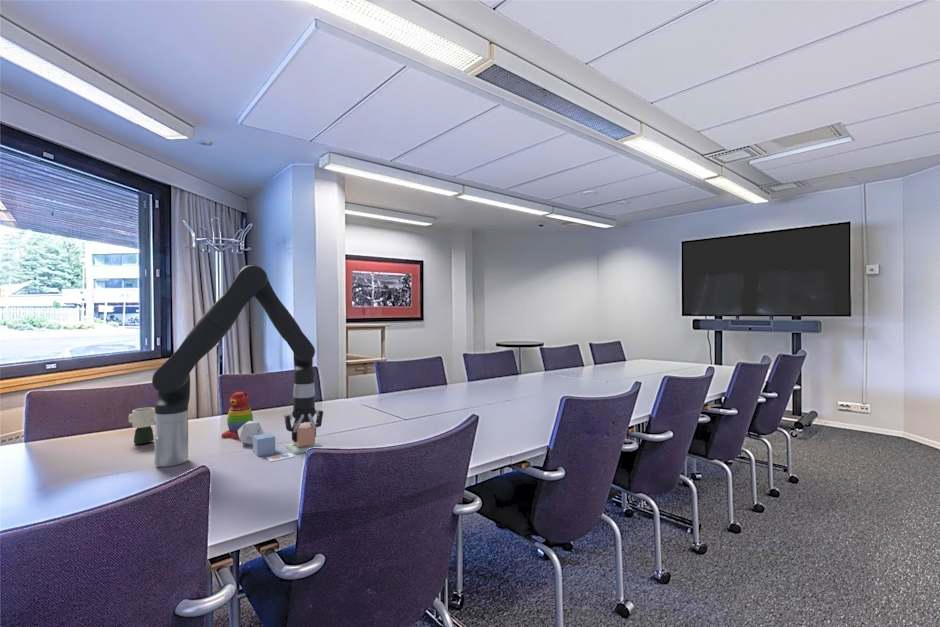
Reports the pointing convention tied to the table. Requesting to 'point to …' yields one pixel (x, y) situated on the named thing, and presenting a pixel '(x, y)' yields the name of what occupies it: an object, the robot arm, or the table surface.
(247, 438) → the die
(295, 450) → the baseplate
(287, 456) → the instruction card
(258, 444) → the brick blue
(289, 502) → the table surface
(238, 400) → the stacking bear
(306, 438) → the brick terracotta
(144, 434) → the character mug
